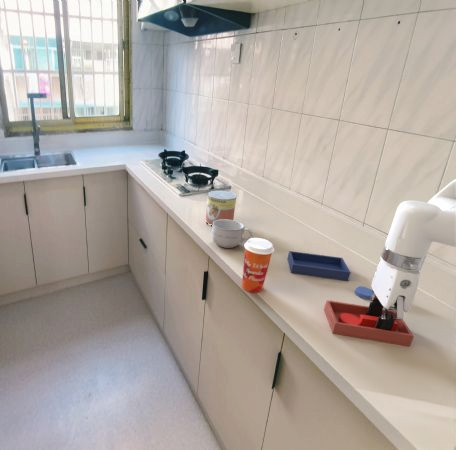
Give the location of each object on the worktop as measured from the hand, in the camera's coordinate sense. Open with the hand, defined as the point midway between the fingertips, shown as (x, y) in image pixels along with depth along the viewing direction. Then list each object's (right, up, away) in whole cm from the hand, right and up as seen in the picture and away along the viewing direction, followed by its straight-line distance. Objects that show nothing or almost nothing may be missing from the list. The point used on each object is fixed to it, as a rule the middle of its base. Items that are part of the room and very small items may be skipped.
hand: (377, 323), depth 81 cm
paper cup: (-26, +6, +15) cm, 30 cm away
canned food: (-27, +24, +58) cm, 68 cm away
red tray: (-3, -1, +1) cm, 3 cm away
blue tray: (-3, +10, +26) cm, 27 cm away
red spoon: (-3, -1, +1) cm, 3 cm away
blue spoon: (+9, +4, +13) cm, 16 cm away
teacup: (-27, +16, +39) cm, 50 cm away
